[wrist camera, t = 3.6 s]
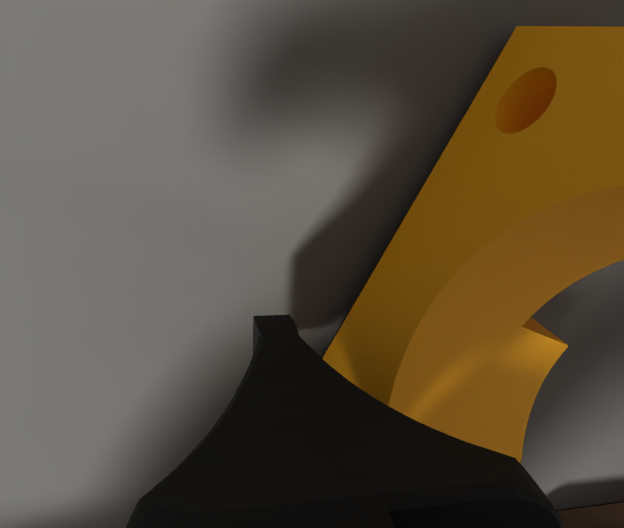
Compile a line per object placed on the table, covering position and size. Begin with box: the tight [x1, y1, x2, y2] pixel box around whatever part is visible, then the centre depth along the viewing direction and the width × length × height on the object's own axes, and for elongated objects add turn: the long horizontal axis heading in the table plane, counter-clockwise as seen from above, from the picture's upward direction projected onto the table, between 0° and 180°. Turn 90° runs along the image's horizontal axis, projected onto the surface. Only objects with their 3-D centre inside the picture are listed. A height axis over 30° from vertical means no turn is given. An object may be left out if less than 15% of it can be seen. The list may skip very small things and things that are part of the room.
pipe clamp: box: [322, 26, 624, 463], centre depth 10 cm, size 12×4×6 cm, turn 152°
